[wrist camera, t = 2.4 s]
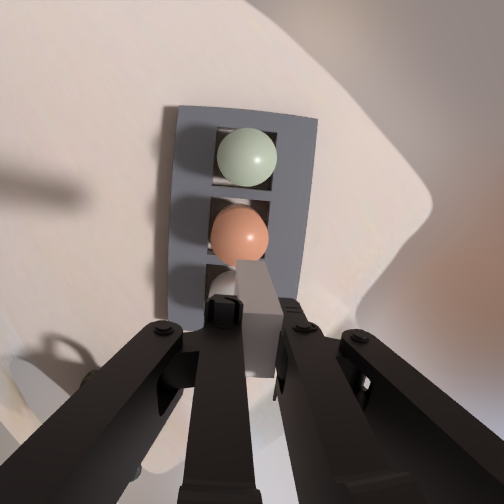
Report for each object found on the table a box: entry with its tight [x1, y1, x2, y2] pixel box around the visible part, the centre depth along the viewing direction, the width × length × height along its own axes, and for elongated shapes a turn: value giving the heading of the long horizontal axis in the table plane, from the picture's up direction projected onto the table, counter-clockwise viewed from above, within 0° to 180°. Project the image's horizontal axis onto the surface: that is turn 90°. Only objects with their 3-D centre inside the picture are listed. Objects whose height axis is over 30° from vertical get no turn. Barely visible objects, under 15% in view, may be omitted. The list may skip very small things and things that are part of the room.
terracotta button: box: [211, 204, 269, 266], centre depth 30 cm, size 5×5×5 cm
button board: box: [168, 106, 318, 331], centre depth 34 cm, size 14×24×2 cm, turn 175°
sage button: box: [217, 128, 277, 187], centre depth 29 cm, size 5×5×5 cm
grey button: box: [208, 271, 236, 298], centre depth 32 cm, size 5×5×5 cm
